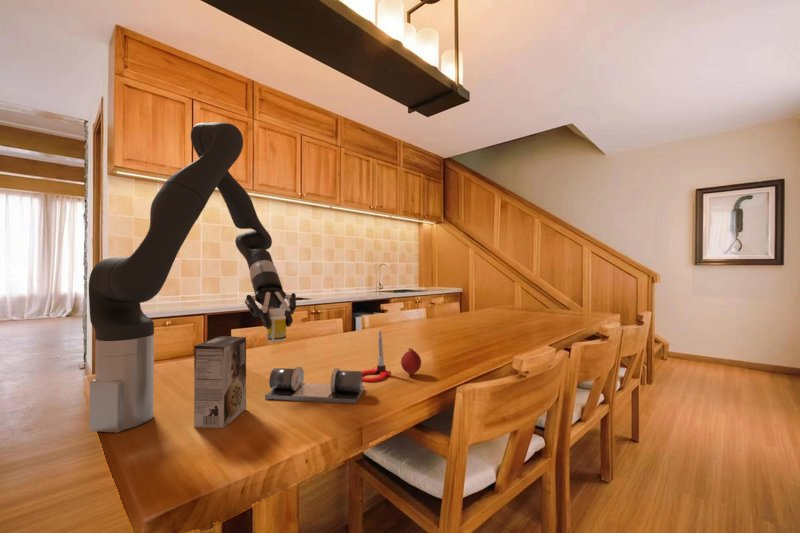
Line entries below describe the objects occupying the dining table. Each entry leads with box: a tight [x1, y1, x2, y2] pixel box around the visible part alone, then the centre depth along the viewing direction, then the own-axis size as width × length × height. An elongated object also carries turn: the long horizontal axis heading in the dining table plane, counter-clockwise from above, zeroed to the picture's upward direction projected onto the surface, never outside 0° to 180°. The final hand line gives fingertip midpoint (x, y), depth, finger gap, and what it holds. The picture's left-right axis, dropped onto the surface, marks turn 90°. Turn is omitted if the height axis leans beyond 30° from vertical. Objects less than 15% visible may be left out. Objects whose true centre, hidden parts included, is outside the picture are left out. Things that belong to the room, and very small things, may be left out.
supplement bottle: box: [266, 308, 287, 343], centre depth 92 cm, size 5×5×8 cm
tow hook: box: [362, 330, 392, 383], centre depth 97 cm, size 8×13×9 cm
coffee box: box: [193, 335, 247, 429], centre depth 71 cm, size 9×6×16 cm
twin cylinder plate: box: [264, 366, 365, 405], centre depth 84 cm, size 22×9×6 cm, turn 84°
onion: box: [400, 347, 422, 376], centre depth 99 cm, size 6×6×8 cm
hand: (279, 325), depth 90 cm, fingers closed on supplement bottle, 4 cm apart
